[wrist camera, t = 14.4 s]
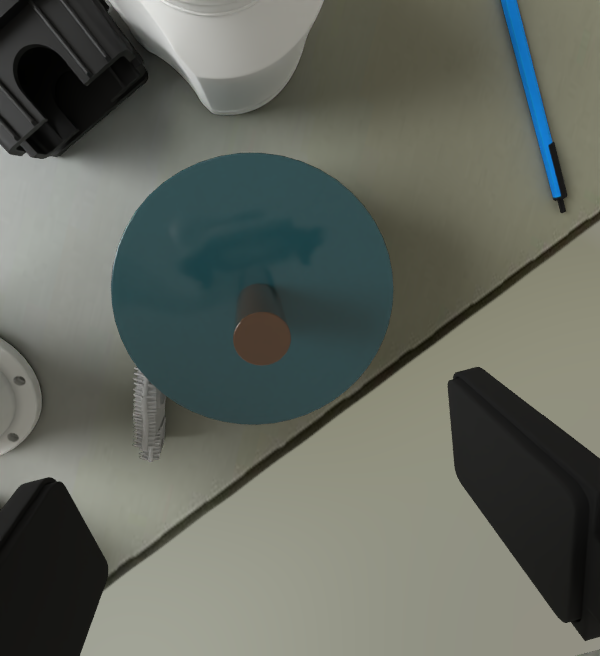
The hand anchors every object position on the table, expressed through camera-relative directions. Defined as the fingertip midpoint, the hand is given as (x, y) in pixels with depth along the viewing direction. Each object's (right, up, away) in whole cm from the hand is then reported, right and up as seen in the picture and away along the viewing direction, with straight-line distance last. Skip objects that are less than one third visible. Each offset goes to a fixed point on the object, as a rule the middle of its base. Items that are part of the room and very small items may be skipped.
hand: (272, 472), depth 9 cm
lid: (-2, +5, +14) cm, 15 cm away
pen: (+19, +21, +21) cm, 35 cm away
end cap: (-15, +21, +17) cm, 31 cm away
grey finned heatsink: (-12, -1, +25) cm, 28 cm away
